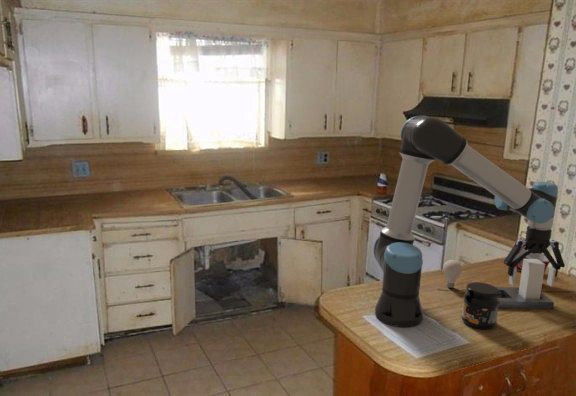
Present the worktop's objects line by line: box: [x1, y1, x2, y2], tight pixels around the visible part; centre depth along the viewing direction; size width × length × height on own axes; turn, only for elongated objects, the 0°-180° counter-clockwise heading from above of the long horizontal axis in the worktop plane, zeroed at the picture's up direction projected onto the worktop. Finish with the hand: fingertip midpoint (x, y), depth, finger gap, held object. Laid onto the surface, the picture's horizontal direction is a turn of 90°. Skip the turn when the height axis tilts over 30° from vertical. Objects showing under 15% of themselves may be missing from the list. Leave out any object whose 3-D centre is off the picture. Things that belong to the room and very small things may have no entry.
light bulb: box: [442, 259, 462, 289], centre depth 172 cm, size 7×7×11 cm
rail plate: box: [495, 286, 555, 310], centre depth 163 cm, size 22×12×2 cm, turn 89°
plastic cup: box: [522, 250, 550, 277], centre depth 178 cm, size 11×11×12 cm
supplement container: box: [461, 281, 500, 330], centre depth 146 cm, size 10×10×12 cm
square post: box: [519, 259, 545, 299], centre depth 162 cm, size 5×5×15 cm
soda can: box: [512, 239, 528, 272], centre depth 192 cm, size 7×7×12 cm
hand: (530, 284), depth 162 cm, fingers open, 13 cm apart
